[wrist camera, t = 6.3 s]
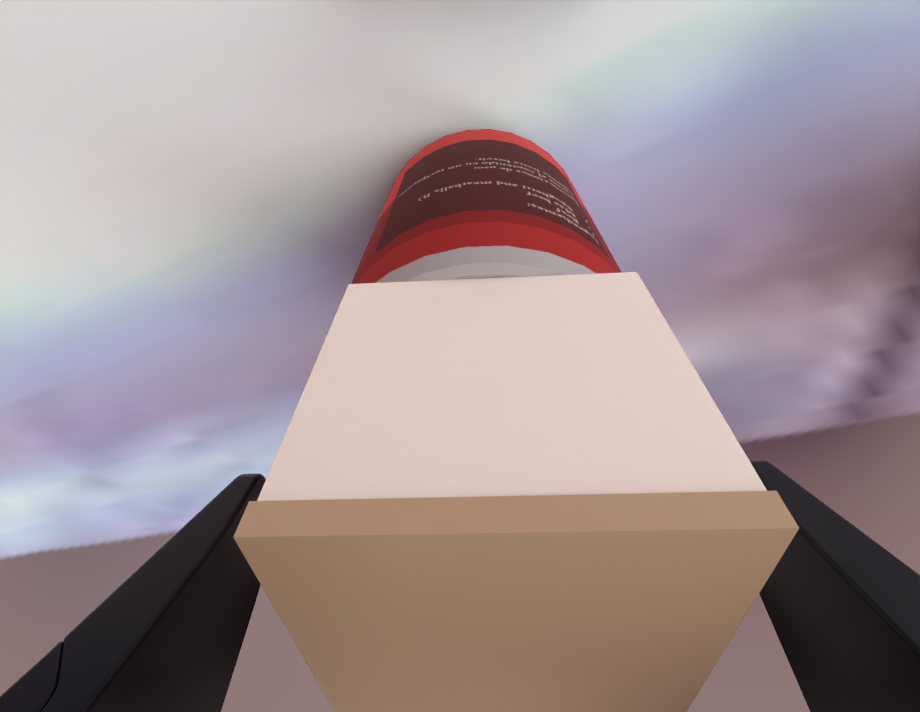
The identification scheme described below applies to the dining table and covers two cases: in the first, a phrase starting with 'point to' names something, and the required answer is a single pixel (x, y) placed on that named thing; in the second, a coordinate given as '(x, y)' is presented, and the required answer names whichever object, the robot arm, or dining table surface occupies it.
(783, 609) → the robot arm
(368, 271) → the canned food
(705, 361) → the dining table surface
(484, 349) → the cream box
